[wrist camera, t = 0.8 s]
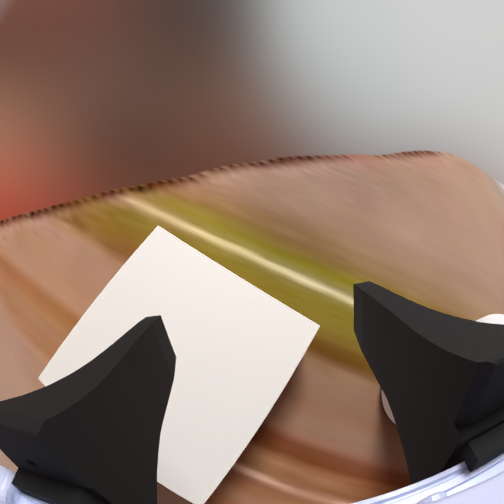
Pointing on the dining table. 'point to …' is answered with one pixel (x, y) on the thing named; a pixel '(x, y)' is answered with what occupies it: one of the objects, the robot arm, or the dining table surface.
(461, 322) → the robot arm
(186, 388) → the lid
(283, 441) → the dining table surface
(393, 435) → the dining table surface
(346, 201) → the dining table surface
